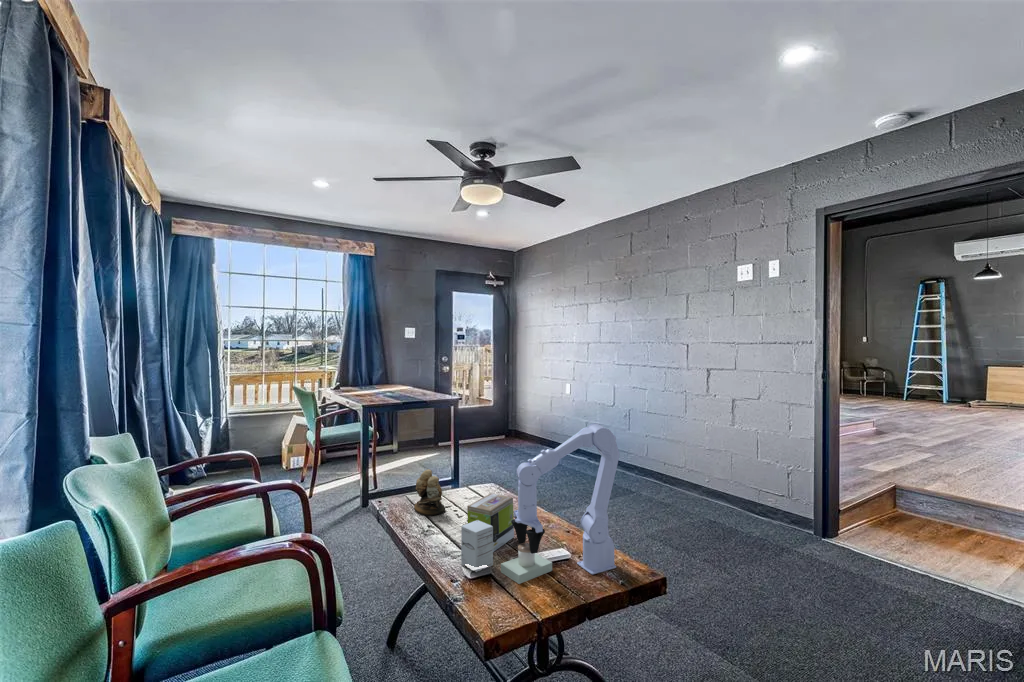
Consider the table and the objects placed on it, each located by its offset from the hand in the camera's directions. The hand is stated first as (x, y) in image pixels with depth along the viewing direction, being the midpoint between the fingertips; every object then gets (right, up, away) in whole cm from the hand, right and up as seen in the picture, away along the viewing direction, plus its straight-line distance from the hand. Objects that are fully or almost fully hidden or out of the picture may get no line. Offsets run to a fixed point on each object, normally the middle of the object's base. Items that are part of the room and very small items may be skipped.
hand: (527, 547), depth 145 cm
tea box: (-12, -8, +21) cm, 25 cm away
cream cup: (0, -5, 0) cm, 5 cm away
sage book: (0, -8, 0) cm, 8 cm away
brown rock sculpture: (-39, -8, +53) cm, 66 cm away
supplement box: (-16, -8, +4) cm, 18 cm away
